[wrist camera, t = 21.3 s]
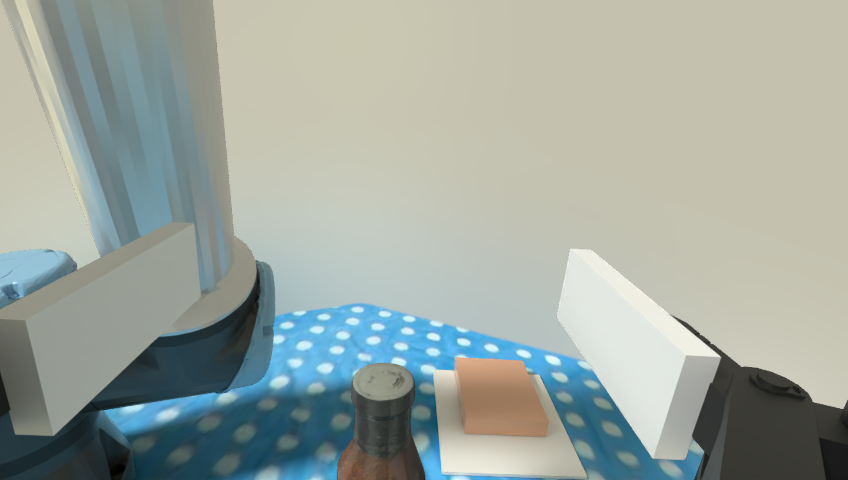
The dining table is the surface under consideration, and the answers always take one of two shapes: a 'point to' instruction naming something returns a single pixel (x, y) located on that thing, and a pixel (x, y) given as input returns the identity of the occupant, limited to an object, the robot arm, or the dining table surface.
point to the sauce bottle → (382, 427)
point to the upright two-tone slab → (498, 398)
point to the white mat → (502, 441)
